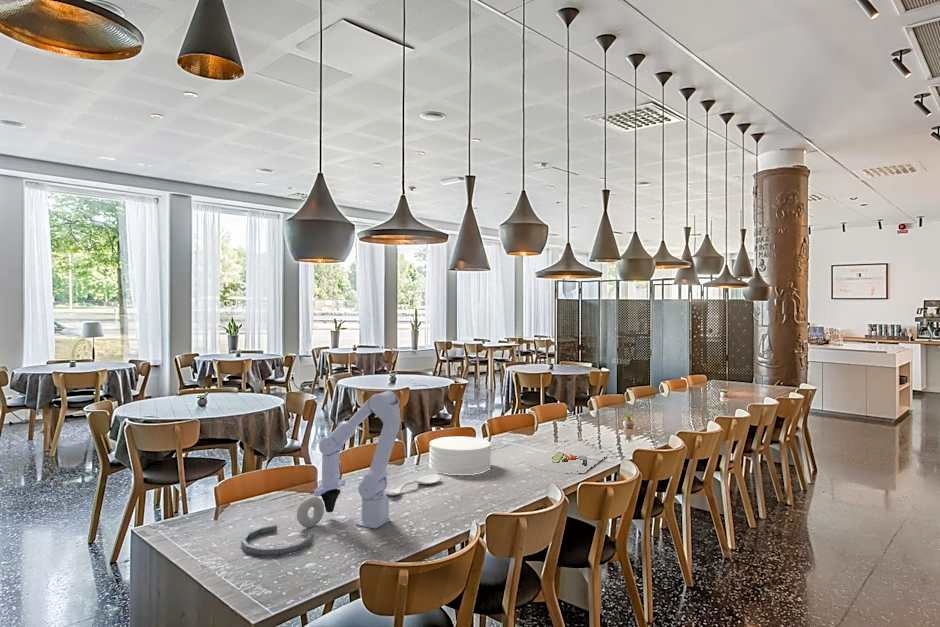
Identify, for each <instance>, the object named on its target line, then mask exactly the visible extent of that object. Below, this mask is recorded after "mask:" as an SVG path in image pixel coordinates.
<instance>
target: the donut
mask: <svg viewBox="0 0 940 627" xmlns="http://www.w3.org/2000/svg"><path fill="white" fill-rule="evenodd" d="M311 508H313V512H312V514H310V516H309V515H308V514H309V510H310V509H311ZM324 513H325V505H324V501H323V499H322V498H320V496H314V495H312V496H311V495H310V496H308V497H305V498H304V499H303V500H302V501H301V502H300V503H299V505H298V507H297V511H296V520H297V521H298V524H299V525H300V526H301V527H303V528H306V529H307V528H313V527H316V525H318V524H319V523H320V521H321V520H322V518H323V516H324Z"/></svg>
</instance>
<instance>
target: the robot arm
mask: <svg viewBox="0 0 940 627" xmlns="http://www.w3.org/2000/svg"><path fill="white" fill-rule="evenodd" d="M400 411H401V410H400V399H399V397H398V396H397V395H396V393H395V392H394V391H392V390H385V391H383V392H381V393H375V394H374V393H373V395H371V396H370V398H368V399H367V400H365V402H364V403H363V404H362V405H361V406H360V408H359V409H357V411H356V412H355V413H354V414H352V416H351V418H350V419H349V420H342V421H340V422H338V423H337V425H336V426H337V427H336V428H335V429H334V430H333V431H330V432H329V433H328V437H324V438H322V439H321V441H320V442H319V445H318V449H319V451H320V453H321V454H322V455H321V458H322V459H321V482H320V483H319V484H318V487H317V488H314V490H313V496H316V497H321V500H322V502H323V504H324V510H325V512H326V513H333V512H334V510H335V506H336V502H337V500H338V497H339V496H340V494H341V489H339V488H340V487H344V486H346V479H342V478H341V479H340V455H341V453H340V452H341V450H342V449H343V447H344V445H345V444H346V443H347V442H348V441H349V440H350V439H351V438H352V437H353V436H354V435H355V433H356V428H357V427H358V426H359V425H360V424H361V423H362V422H363V421H364V420H365V419H367V418H368V417H369V416H370V415H371V414H375V415H376V416H377V418H378V419H380V421H381V422H382V424H383V425H382V428H381V431H380V434H379V437H378V440H377V444H376V448H375V451H374V454H373V458H372V460H371V463H370V467H369V469H368V470H367V472H366V473H365V475H364V478H363V479H362V480H361V482H359V484H358V487H357V488H358V493H359V495H360V497H361V519H360V520H359V521H357V522H356V523H355V525H357V526H362V527H366V528H372V529H378V528H379V527H381V526H383V525H385V524H387V523H389V521H391V520H392V518H391V517H390V499H389V497H388V495H387V494H384V490H386V489H387V486H388V479H387V478H388V474H389V473H388V472H387V467H388V465H389V461H390V458H391V455H392V452H393V449H394V445H395V442H396V438H397V435H398V434H399V433H398V432H399V430H400V426H401V423H402V418H401V412H400Z"/></svg>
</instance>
